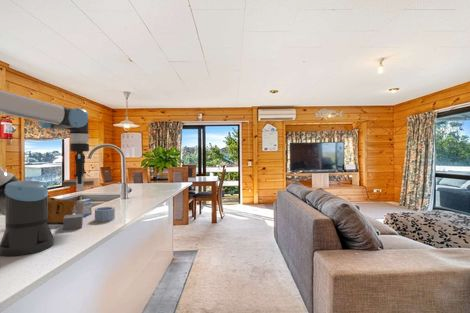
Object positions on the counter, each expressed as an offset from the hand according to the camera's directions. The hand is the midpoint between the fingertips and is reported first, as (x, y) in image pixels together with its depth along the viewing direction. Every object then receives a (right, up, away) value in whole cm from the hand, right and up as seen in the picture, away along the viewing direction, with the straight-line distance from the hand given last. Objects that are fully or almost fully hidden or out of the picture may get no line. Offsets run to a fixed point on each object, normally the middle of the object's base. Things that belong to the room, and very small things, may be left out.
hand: (81, 189), depth 121 cm
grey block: (-2, -17, -3) cm, 17 cm away
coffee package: (-28, -11, +6) cm, 31 cm away
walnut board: (-1, +2, 0) cm, 2 cm away
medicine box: (-10, -17, +19) cm, 27 cm away
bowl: (+6, -17, +11) cm, 21 cm away
